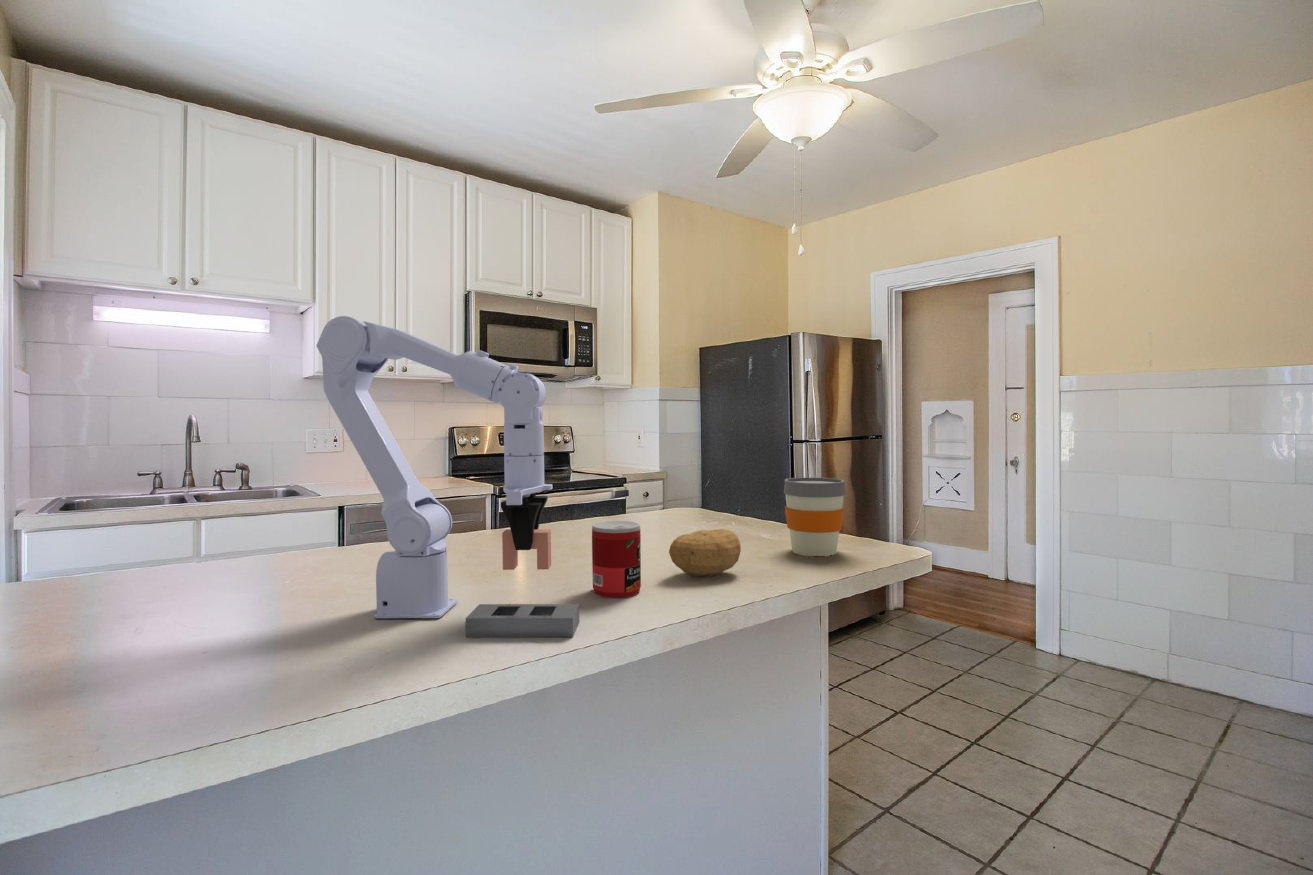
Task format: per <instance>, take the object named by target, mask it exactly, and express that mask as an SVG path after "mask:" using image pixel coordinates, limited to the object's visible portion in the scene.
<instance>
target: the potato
mask: <svg viewBox="0 0 1313 875" xmlns="http://www.w3.org/2000/svg"><path fill="white" fill-rule="evenodd" d="M741 548H742V546H741V541H740V539H739V537H738V535H737V534H735V533H734V531H732V530H730V529H726V528H720V529H718V528H717V529H709V530H708V529H705V530H704V529H701V530H697V531H692V532H690V533H686V534H681V535H679V536H677V537H676V538H674V539H673V541H672V542H671V544H670V546H669V550H668V551H669V552H668V554H669V556H670V559H671V562H672V563H673V564H674V565H675V567H677V568H679V569H680V570H682V572H683V573H685V574H687V575H688V576H691V577H694V578H695V577H696V578H708V577H713V576H717V574H720V573H723V572H725V571H727V570H730V569H732V568H734V566H735V565H736V564H737V563H738V561H739V558H740V555H741V552H742V551H741V550H742V549H741Z"/></svg>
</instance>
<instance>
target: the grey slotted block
mask: <svg viewBox="0 0 1313 875" xmlns="http://www.w3.org/2000/svg"><path fill="white" fill-rule="evenodd" d="M580 615H581V614H580V603H553V604H552V603H512V604H511V603H509V604H508V603H488V604H487V603H483V604H482V603H479V604H478V605H477V606H476V607H475V608H474V609H473V610H472V611H471V612H470V613H469V614H468V615H467V616H466V617H465V638H573V637H574V636H575V633H576V631H577V629H578V627H579V624H580Z"/></svg>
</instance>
